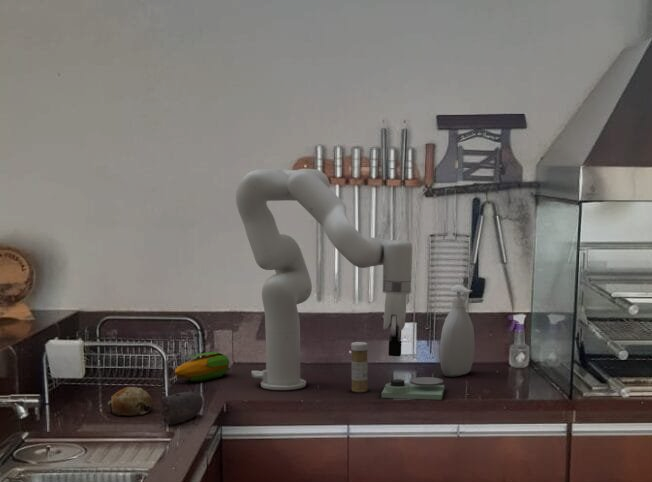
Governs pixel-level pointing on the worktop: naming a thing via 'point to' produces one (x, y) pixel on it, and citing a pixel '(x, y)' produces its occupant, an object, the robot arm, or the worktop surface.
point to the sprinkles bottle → (359, 366)
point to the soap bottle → (457, 338)
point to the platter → (426, 381)
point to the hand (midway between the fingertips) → (394, 355)
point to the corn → (203, 367)
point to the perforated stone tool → (180, 407)
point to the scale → (413, 391)
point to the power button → (397, 382)
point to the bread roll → (131, 402)
